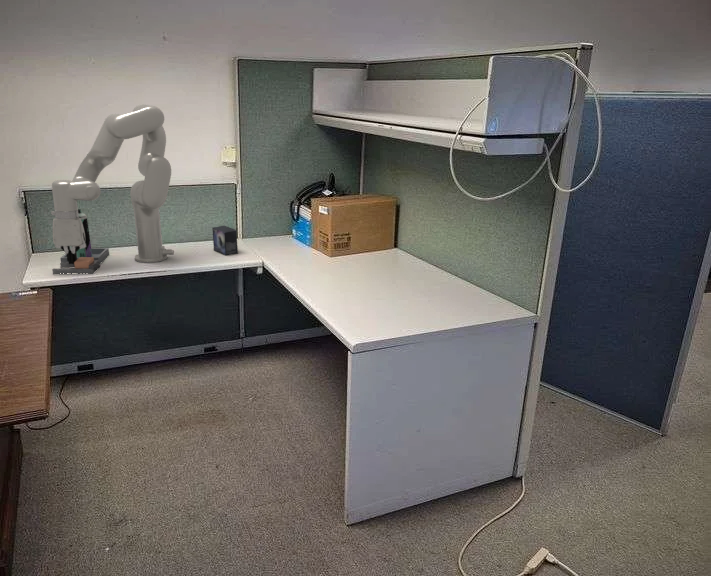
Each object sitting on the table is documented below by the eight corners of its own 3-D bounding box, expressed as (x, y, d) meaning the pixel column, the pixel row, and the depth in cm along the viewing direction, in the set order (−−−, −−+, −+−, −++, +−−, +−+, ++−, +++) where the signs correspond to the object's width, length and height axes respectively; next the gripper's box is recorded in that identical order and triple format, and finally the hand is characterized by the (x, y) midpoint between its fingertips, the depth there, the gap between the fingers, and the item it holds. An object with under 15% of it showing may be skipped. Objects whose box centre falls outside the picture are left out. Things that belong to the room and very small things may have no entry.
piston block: (94, 267, 212) (93, 257, 211) (89, 272, 207) (88, 261, 205) (81, 267, 212) (79, 257, 210) (75, 272, 206) (74, 262, 205)
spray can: (94, 258, 221) (87, 209, 215) (79, 261, 218) (72, 211, 211) (90, 255, 225) (83, 207, 219) (75, 258, 222) (68, 208, 215)
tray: (109, 254, 229) (108, 248, 228) (99, 264, 216) (98, 257, 215) (73, 255, 227) (72, 248, 226) (61, 265, 214) (60, 257, 213)
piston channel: (100, 266, 214) (99, 259, 213) (93, 274, 206) (92, 266, 205) (61, 267, 212) (60, 259, 211) (53, 274, 204) (51, 266, 203)
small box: (212, 250, 240) (211, 227, 237) (225, 248, 244) (224, 225, 241) (225, 256, 233) (223, 231, 229) (238, 253, 237) (237, 229, 234)
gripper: (40, 216, 197) (47, 265, 203) (85, 217, 199) (90, 266, 205) (49, 212, 204) (55, 260, 210) (91, 213, 206) (96, 260, 212)
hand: (72, 262), depth 207 cm, fingers closed
